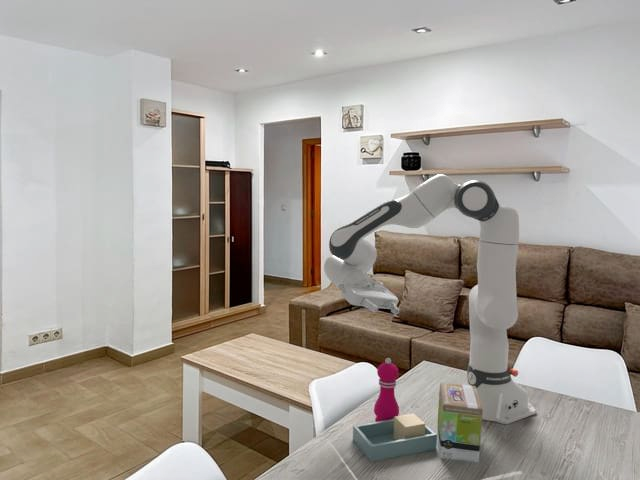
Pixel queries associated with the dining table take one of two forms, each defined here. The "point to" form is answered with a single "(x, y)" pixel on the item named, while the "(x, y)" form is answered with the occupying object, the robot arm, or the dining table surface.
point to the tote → (390, 441)
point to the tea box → (459, 422)
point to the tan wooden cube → (408, 426)
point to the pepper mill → (386, 392)
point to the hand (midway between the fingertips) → (387, 311)
